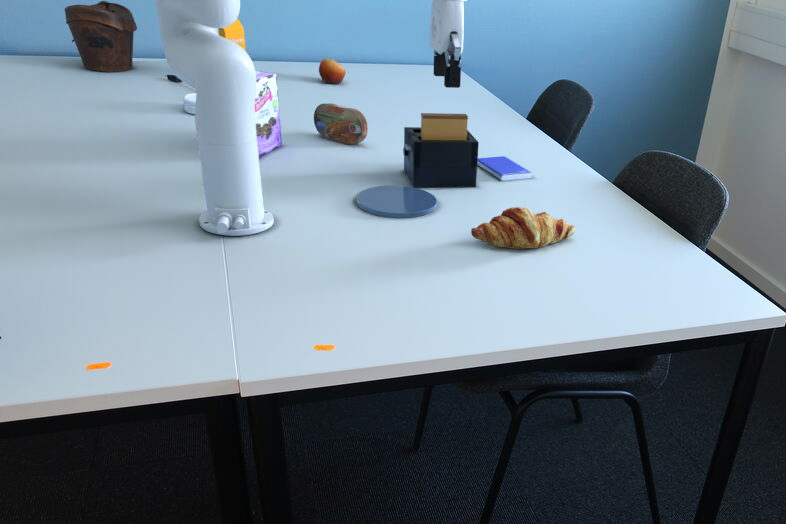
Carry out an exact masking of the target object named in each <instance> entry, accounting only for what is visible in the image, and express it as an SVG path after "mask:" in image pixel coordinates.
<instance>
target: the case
mask: <svg viewBox="0 0 786 524" xmlns="http://www.w3.org/2000/svg"><path fill="white" fill-rule="evenodd" d="M64 15H65V24H67V25H68V29H69V31H70V33H71V36H72V38H73V39H72V40H71V43H74V44H75V47H76V49H77V51H78V55H79V56H80V59H81V62H82V64H83V67H84V68H85V69H88V70H91V71H97V72H124V71H129V70H131V69H133V68H134V65H133V54H134V33H135V31H137V30H138V26H137V22H136V21H135V17H134V15H133V13H132V11H131V10H130V9H129V8H128V7H126V6H124V5H122V4H119V3H115V2H109V1H106V0H101V1H99V2H97V3H94V4H90V5H87V4H72V5H68V6H65V8H64Z"/></svg>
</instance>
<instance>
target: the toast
mask: <svg viewBox="0 0 786 524" xmlns="http://www.w3.org/2000/svg"><path fill="white" fill-rule="evenodd" d="M468 120H469V116H468V114H466V113H440V112H439V113H436V112H435V113H434V112H421V113H420V127H421V140H467V130H468Z"/></svg>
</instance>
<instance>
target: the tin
mask: <svg viewBox="0 0 786 524" xmlns="http://www.w3.org/2000/svg"><path fill="white" fill-rule="evenodd" d="M313 122H314V127H315V129H316V132H318V134H319V135H320V136H321V137H322V138H324V139H327V140H329V141H330V140H331V141H335V142H338V143H342V144H345V145H350V146H353V145H356V144H361V143H362V142H364V140H365V139H366V138H367V136H368V122H367V118H366V117H365V115H364V114H363V112H361V111H360V110H358V109H356V108H353V107H348V106H343V105H340V104H336V103H332V102H331V103H330V102H329V103H328V102H327V103H321V104H319V105H318V106H316V108H315V110H314V113H313Z"/></svg>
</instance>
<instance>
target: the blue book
mask: <svg viewBox="0 0 786 524" xmlns="http://www.w3.org/2000/svg"><path fill="white" fill-rule="evenodd" d="M477 166H479V167H480V168H482V169H483V170H485V171H486V172H488V173H490V174H491V175H493V176H494V177H496V178H497V179H499V180H500V181H502V182H504V181H517V180H526V179H527V180H528V179H531V178H532V175H533V173H532V171H530V170H528V169H527V168H525V167H523V166H521V165H520V164H518V163H516V161H514V160H512V159H510V158H509V157H506V156H504V155H503V156H501V155H500V156H493V157H492V156H490V157H488V156H487V157H478V161H477Z"/></svg>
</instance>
